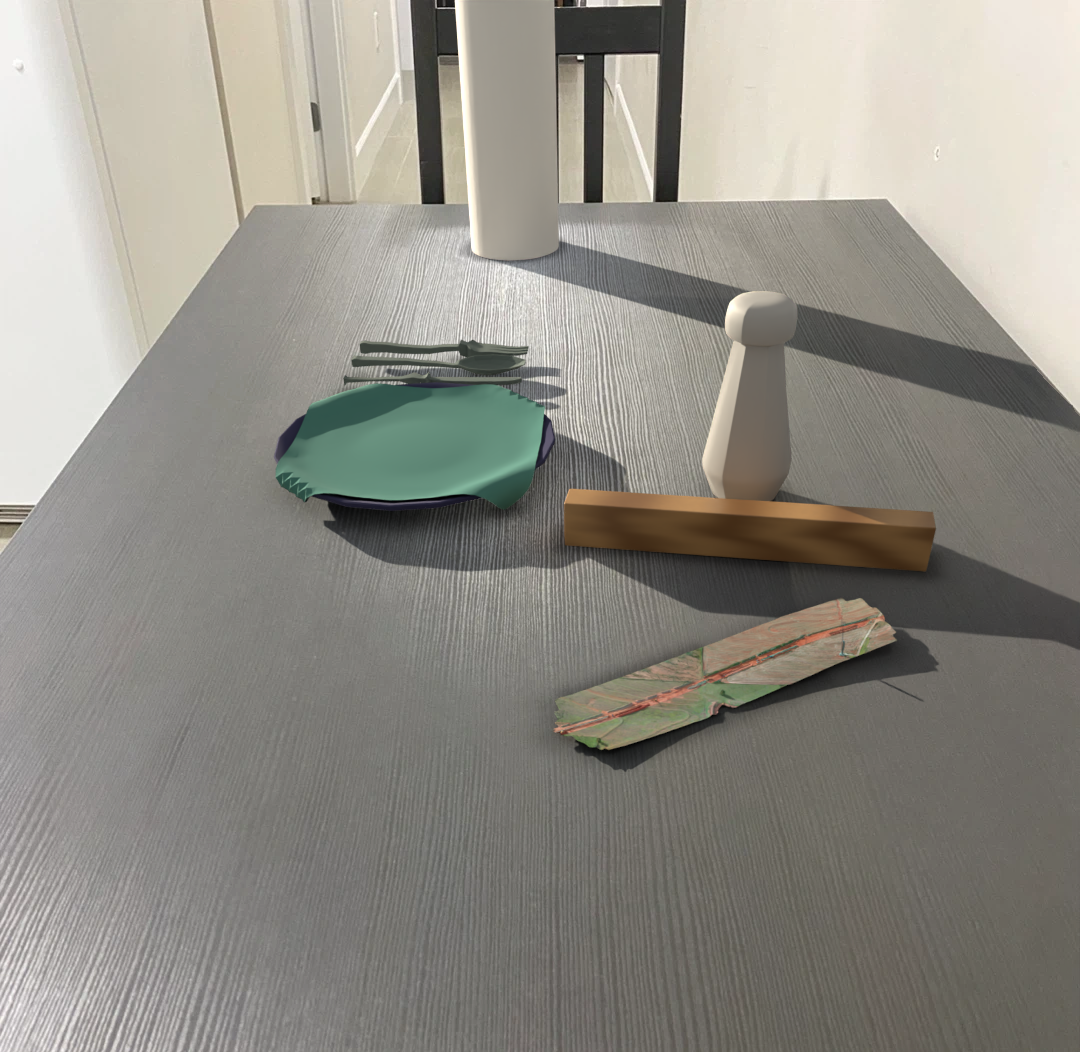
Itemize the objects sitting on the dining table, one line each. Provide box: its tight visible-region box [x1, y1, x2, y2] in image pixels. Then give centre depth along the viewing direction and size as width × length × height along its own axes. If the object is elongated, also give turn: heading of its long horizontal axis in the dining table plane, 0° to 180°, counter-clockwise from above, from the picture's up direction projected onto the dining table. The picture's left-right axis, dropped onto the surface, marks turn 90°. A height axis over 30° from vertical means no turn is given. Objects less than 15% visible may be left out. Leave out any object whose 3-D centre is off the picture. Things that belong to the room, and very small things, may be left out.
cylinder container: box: [454, 0, 560, 261], centre depth 108 cm, size 9×9×30 cm
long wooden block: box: [563, 488, 937, 572], centre depth 67 cm, size 22×2×3 cm, turn 79°
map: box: [552, 597, 898, 751], centre depth 58 cm, size 5×20×1 cm, turn 117°
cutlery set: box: [273, 339, 556, 512], centre depth 81 cm, size 20×30×2 cm, turn 176°
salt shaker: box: [701, 290, 799, 501], centre depth 69 cm, size 6×6×13 cm
